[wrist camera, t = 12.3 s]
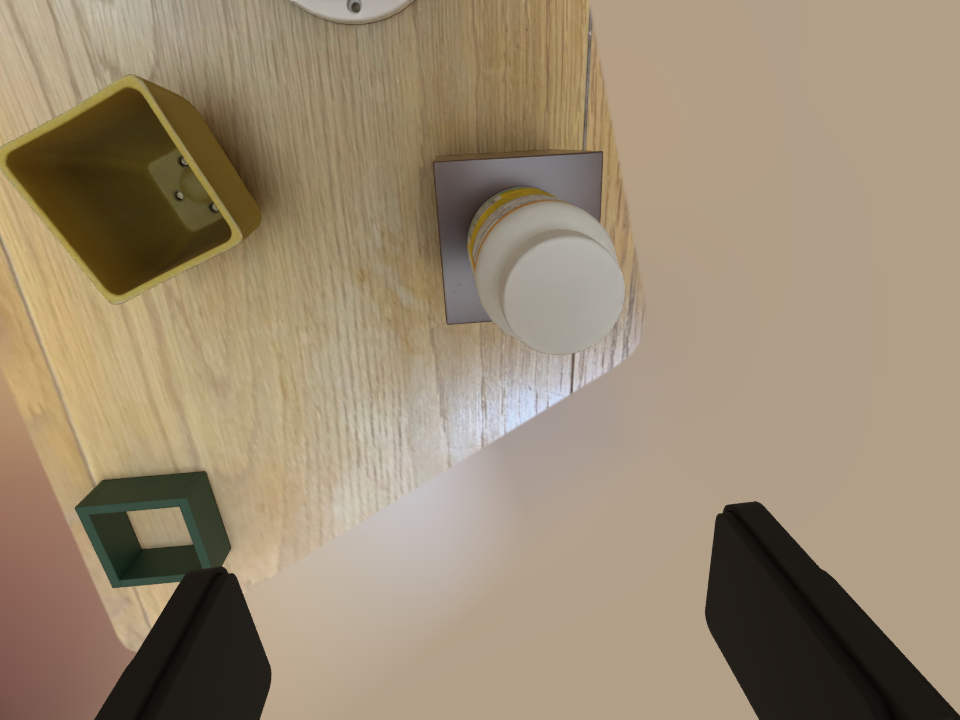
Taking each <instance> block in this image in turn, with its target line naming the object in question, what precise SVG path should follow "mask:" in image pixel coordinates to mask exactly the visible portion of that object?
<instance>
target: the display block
mask: <svg viewBox="0 0 960 720" xmlns="http://www.w3.org/2000/svg"><path fill="white" fill-rule="evenodd" d="M602 169H603V152H602V151H579V150H534V151H517V152H500V153H484V154H467V155H450V156H436V157H435V159H434V161H433V171H434V183H435V194H436V206H437V218H438V230H439V241H440V253H441V265H442V276H443V288H444V300H445V312H446V323H447V325H451V324H465V323H478V322H491V321H492V320H491V319H490V317H489V316H488V315H487V313H486V312H485V310H484V308H483V306H482V304H481V302H480V299H479V296H478V293H477V289H476V284H475V280H474V276H473V272H472V268H471V265H470V260H469V256H468V250H467V238H468V232H469V228H470V226H471V223H472V220H473V218H474V217H475V215H476V213H477V212H478V210H479V209H480V208H481V207H482V206H483V204H484V203H485V202H486V201H488V200H489V199H490V198H491V197H493V196H494V195H496V194H498V193H500V192H502V191H505V190H507V189H511V188H515V187H532V188H537V189H540V190H543V191H546V192H548V193H550V194H552V195H554V196H556V197H558V198H560V199H562V200H564V201H566V202H568V203H570V204H572V205H574V206H577V207H579V208H581V209H583V210H584V211H586V212H587V213H589V214H590V215H592V216H593V217H594V218H595V219H596V220H597V221H598V222H599V223H600V217H601V193H602Z"/></svg>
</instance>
